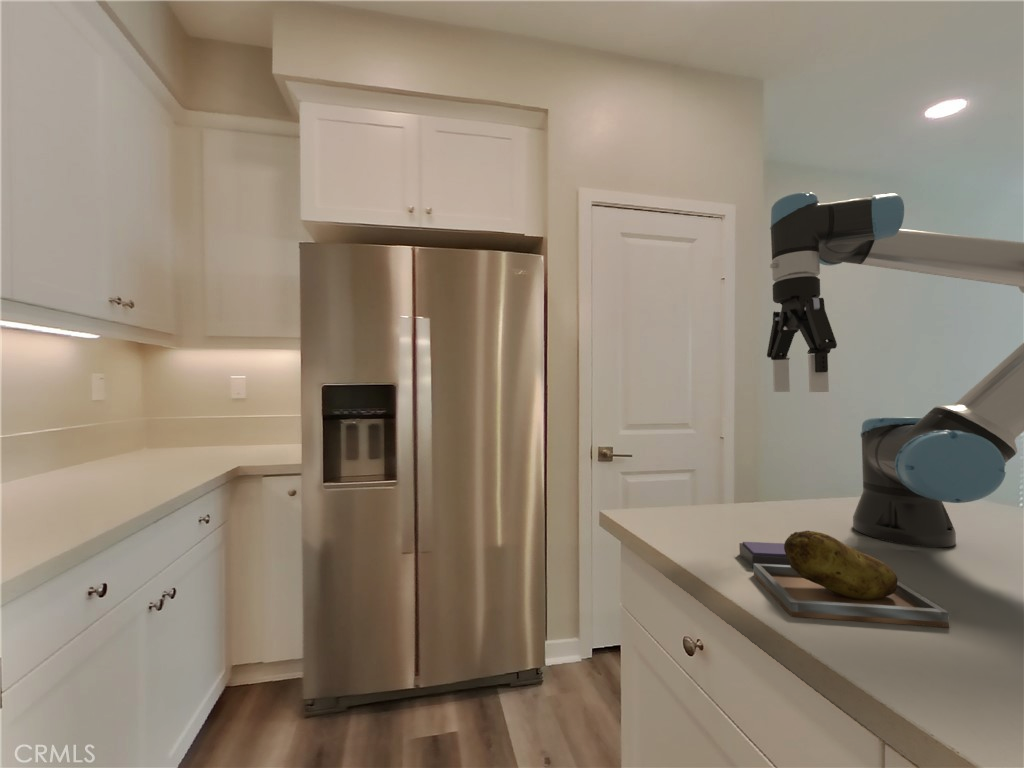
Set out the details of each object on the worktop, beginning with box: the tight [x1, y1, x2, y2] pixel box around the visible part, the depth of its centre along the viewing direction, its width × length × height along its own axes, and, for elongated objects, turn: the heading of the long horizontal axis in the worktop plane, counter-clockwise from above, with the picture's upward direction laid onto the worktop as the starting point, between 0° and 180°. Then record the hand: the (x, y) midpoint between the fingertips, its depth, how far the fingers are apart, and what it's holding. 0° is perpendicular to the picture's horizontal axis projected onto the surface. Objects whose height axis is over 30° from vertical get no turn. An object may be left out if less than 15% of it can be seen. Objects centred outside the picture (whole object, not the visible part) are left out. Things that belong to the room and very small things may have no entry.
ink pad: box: [739, 541, 789, 569], centre depth 73 cm, size 8×6×2 cm
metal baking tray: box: [753, 563, 950, 628], centre depth 60 cm, size 18×13×2 cm
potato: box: [784, 530, 898, 600], centre depth 61 cm, size 8×13×8 cm, turn 55°
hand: (798, 392), depth 82 cm, fingers open, 13 cm apart
